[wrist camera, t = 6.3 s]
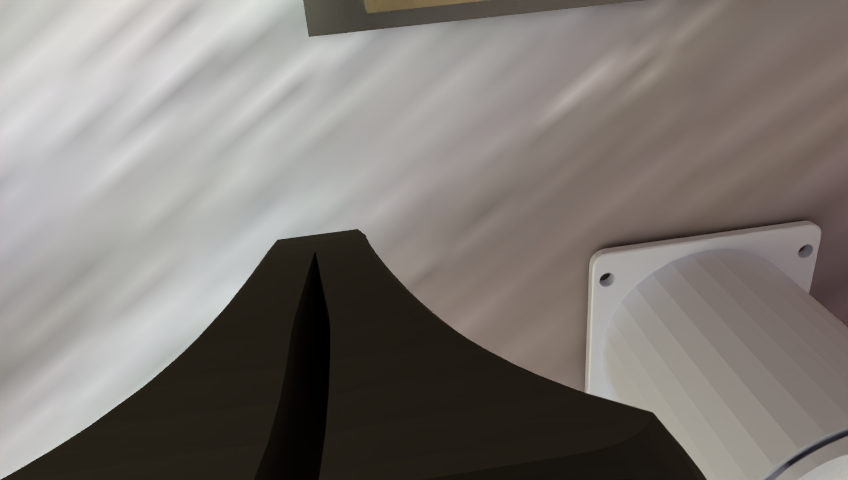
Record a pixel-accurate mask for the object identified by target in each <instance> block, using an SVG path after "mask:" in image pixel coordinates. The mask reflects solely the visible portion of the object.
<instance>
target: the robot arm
mask: <svg viewBox="0 0 848 480" xmlns="http://www.w3.org/2000/svg"><path fill="white" fill-rule="evenodd" d="M820 240H821V230H820V228H819V227H818V226H817V225H815V224H814V223H812V222H811V221H799V222H792V223H784V224H777V225H770V226H763V227H756V228H749V229H741V230H734V231H727V232H720V233H713V234H705V235H698V236H691V237H684V238H677V239H670V240H662V241H655V242H648V243H641V244H634V245H627V246H619V247H612V248H605V249H602V250H599V251H597V252H596V253H595V254H594V255H593V256H592V257H591V259H590V263H589V289H588V316H587V344H586V371H585V393H584V392H581V391H578V390H575V389H573V388H570V387H567V386H565V385H562V384H560V383H557V382H555V381H552V380H549V379H547V378H544V377H542V376H539V375H537V374H535V373H532V372H530V371H528V370H526V369H523V368H521V367H519V366H517V365H515V364H513V363H511V362H509V361H507V360H505V359H503V358H501V357H499V356H497V355H495V354H494V353H492V352H490V351H488V350H486V349H484V348H482V347H481V346H479V345H477V344H475V343H474V342H472V341H470V340H469V339H467V338H466V337H464V336H463V335H461V334H460V333H458V332H457V331H456V330H454V329H453V328H451V327H450V326H449V325H447V324H446V323H445V322H443V321H442V320H441V319H440V318H439V317H437V316H436V315H435V314H434V313H432V312H431V311H430V310H429V309H428V308H427V307H426V306H425V305H423V304H422V303H421V302H420V301H419V300H418V299H417V298H416V297H415V296H414V295H413V294H412V293H411V292H409V291H408V290H407V289H406V287H405V286H404V285H403V284H402V283H401V282H400V281H399V280H398V279H397V278H396V277H395V276H394V275H393V274H392V272H391V271H390V270H389V269H388V268H387V267H386V265H385V264H384V263H383V262H382V260H381V259H380V258H379V257H378V255H377V254H376V253H375V251H374V250H373V248H372V247H371V245H370V244H369V242H368V240H367V238H366V235H365V234H363V233H362V232H361V231H359V230H358V229H356V230H348V231H341V232H333V233H326V234H318V235H310V236H303V237H295V238H288V239H280V240H277V241H276V242H275V244H274V245H273V246H272V247H271V249H270V250H269V251H268V252H267V254H266V255H265V257H264V258H263V259H262V261H261V262H260V264H259V265H258V266H257V268H256V269H255V270H254V272H253V273H252V274H251V276H250V277H249V278H248V280H247V281H246V282H245V284H244V285H243V286H242V288H241V289H240V290H239V291H238V293H237V294H236V295H235V296H234V298H233V299H232V300H231V301H230V303H229V304H228V305H227V306H226V308H225V309H224V310H223V311H222V312H221V313H220V314H219V315H218V317H217V318H216V319H215V320H214V321H213V322H212V323H211V324H210V325H209V326H208V328H207V329H206V330H205V331H204V332H203V333H202V334H201V335H200V336H199V337H198V338H197V339H196V340H195V341H194V342H193V343H192V344H191V345H190V346H189V347H188V348H187V349H186V350H185V351H184V352H183V353H182V354H181V355H180V356H179V357H178V358H177V359H175V360H174V361H173V362H172V363H171V364H170V365H169V366H167V367H166V368H165V369H164V370H163V371H162V372H160V373H159V374H158V375H157V376H156V377H155V378H154V379H152V380H151V381H150V382H149V383H147V384H146V385H145V386H144V387H142V388H141V389H140V390H138V391H137V392H136V393H134V394H133V395H132V396H130V397H129V398H127V399H126V400H125V401H123V402H122V403H121V404H119V405H118V406H116V407H115V408H114V409H112V410H111V411H110V412H108V413H107V414H106V415H104V416H103V417H101V418H100V419H99V420H97V421H96V422H95V423H93V424H92V425H90V426H89V427H87V428H86V429H84V430H83V431H81V432H80V433H78V434H77V435H75V436H73V437H72V438H70V439H69V440H67V441H66V442H64V443H62V444H61V445H59V446H58V447H56V448H55V449H53V450H51V451H50V452H48V453H46V454H45V455H43V456H41V457H39V458H38V459H36V460H34V461H33V462H31V463H29V464H28V465H26V466H24V467H22V468H21V469H19V470H17V471H16V472H14V473H12V474H10V475H8V476H7V477H5V478H3V479H1V480H848V327H847V326H846V325H845V324H844V323H842V322H841V321H840V320H839V319H838V318H837V317H835V316H834V315H833V314H832V313H831V312H829V311H828V310H827V309H826V308H825V307H824V306H822V305H821V304H820V303H819V302H818V301H817V300H815V299H814V298H813V297H812V296H811V295H810V294H809V292H810V287H811V283H812V278H813V273H814V268H815V263H816V259H817V254H818V249H819V244H820ZM804 245H806V246H805V248H804V249H803V250H802V251H801V252H799V250H800V248H801V247H802V246H804ZM606 273H610V276H609V277H608V278H607V279H606V280H603V281H601V280H600V277H601V276H602V275H603V274H606Z"/></svg>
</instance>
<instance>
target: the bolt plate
mask: <svg viewBox="0 0 848 480" xmlns="http://www.w3.org/2000/svg"><path fill="white" fill-rule="evenodd" d="M303 1H304V8H305V14H306V21H307V28H308V34H309V37H311V36H320V35H329V34H338V33H347V32H357V31H366V30H375V29H384V28H393V27H403V26H412V25H421V24H430V23H439V22H448V21H458V20H467V19H476V18H485V17H494V16H504V15H513V14H522V13H531V12H540V11H550V10H559V9H568V8H577V7H586V6H596V5H605V4H614V3H623V2H632V1H642V0H303Z"/></svg>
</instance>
